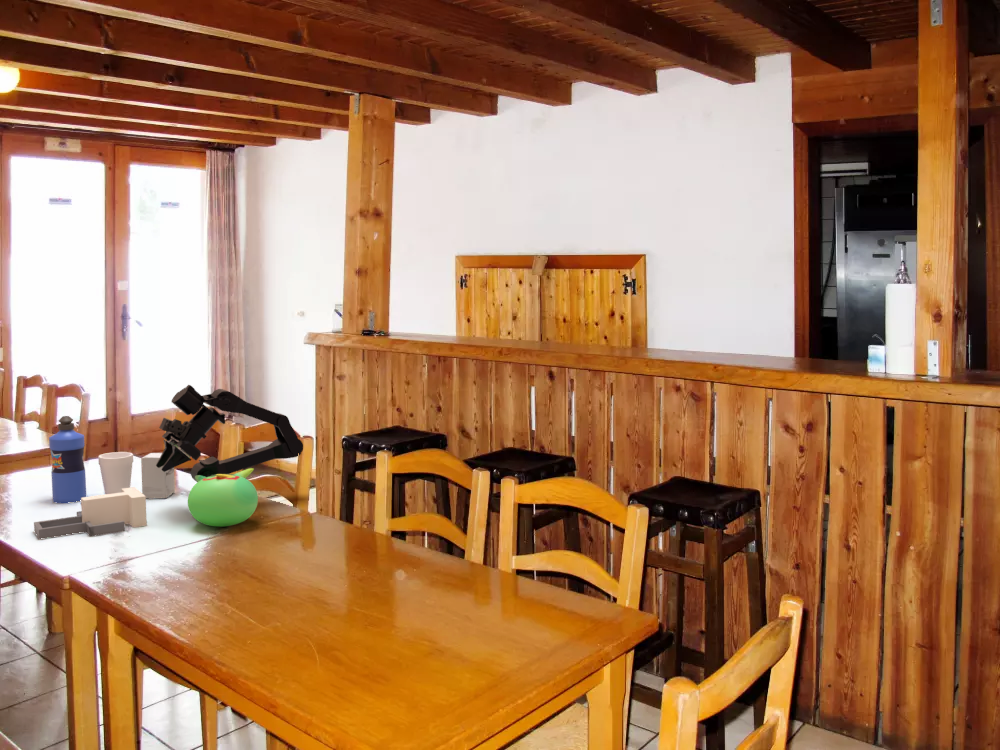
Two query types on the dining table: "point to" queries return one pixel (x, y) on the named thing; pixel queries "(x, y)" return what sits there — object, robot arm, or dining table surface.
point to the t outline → (74, 527)
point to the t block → (115, 508)
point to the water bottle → (67, 463)
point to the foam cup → (116, 471)
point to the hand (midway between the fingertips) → (160, 468)
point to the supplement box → (156, 478)
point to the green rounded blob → (223, 499)
